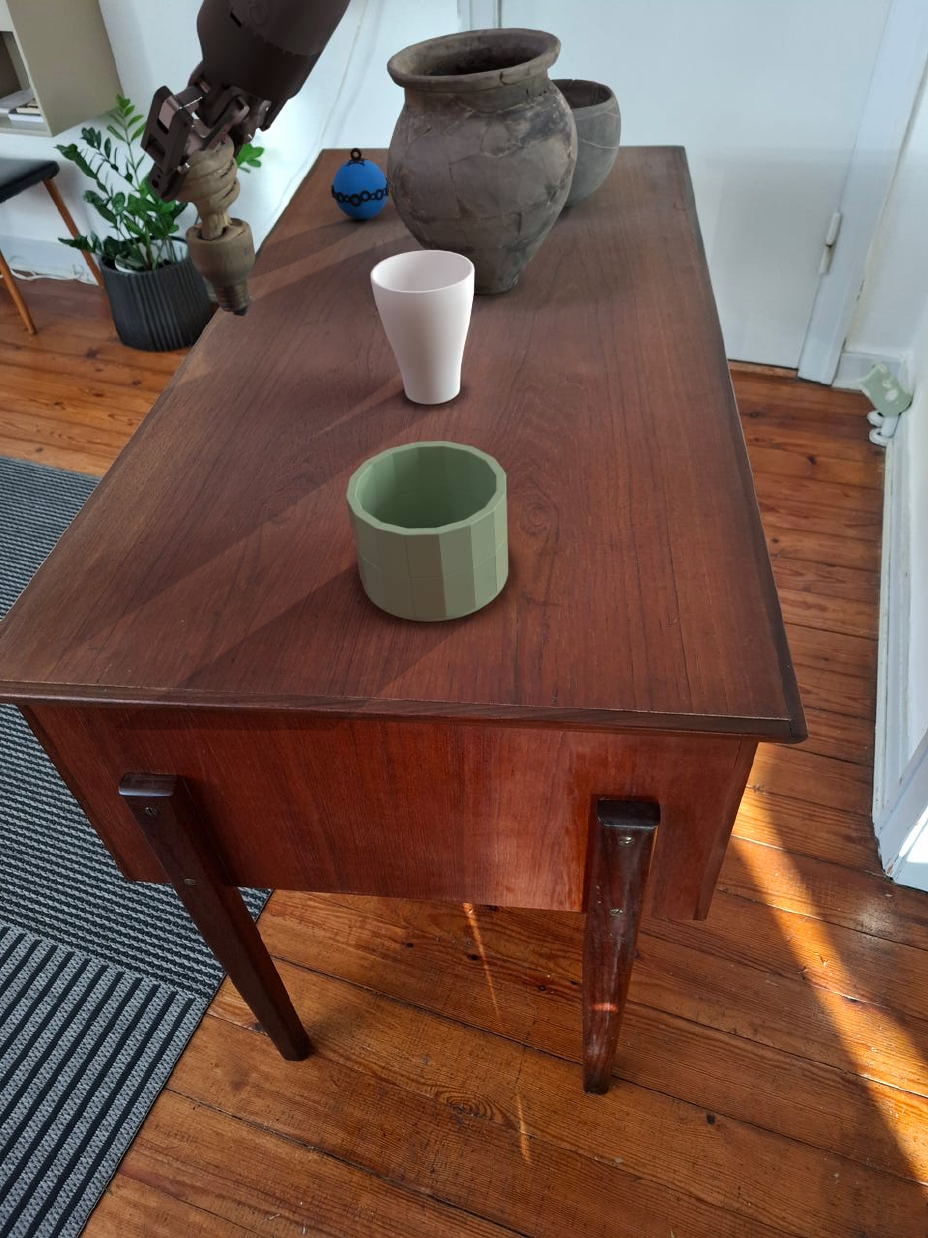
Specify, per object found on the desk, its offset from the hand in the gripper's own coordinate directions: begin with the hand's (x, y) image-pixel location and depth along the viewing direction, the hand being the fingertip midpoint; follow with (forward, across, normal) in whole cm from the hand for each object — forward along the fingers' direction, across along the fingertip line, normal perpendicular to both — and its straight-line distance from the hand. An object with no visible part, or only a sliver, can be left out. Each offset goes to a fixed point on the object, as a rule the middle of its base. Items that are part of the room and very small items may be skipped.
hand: (187, 178), depth 69 cm
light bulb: (+6, 0, +9) cm, 11 cm away
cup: (+15, -22, +25) cm, 36 cm away
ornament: (+41, -63, -2) cm, 76 cm away
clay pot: (+21, -49, +19) cm, 57 cm away
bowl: (+24, -80, +16) cm, 85 cm away
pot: (+4, +5, +36) cm, 36 cm away
